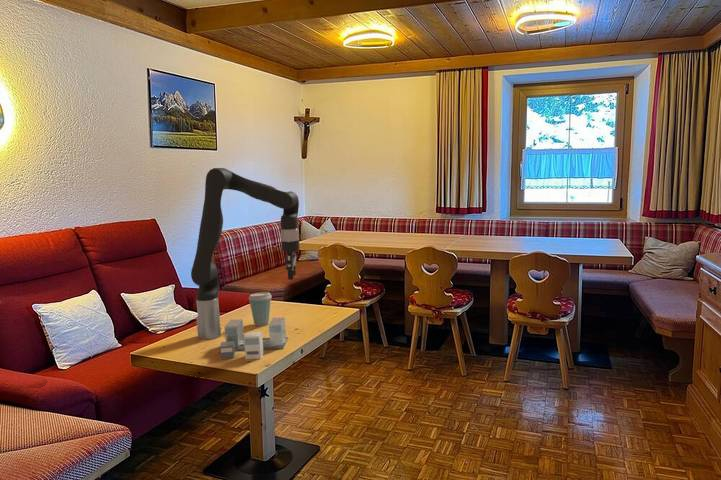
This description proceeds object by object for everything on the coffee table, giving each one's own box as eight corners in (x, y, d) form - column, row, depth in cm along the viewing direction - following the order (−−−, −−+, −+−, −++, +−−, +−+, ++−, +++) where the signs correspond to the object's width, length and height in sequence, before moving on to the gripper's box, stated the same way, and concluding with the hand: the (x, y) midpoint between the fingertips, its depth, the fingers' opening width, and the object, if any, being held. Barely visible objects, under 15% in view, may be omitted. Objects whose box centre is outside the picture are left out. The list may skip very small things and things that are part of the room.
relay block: (220, 359, 209) (219, 347, 208) (222, 354, 215) (221, 342, 214) (234, 358, 210) (232, 346, 209) (235, 353, 216) (234, 341, 215)
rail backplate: (224, 351, 219) (222, 327, 217) (232, 341, 230) (230, 319, 229) (283, 348, 218) (281, 324, 217) (287, 339, 230) (286, 316, 229)
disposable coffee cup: (246, 324, 255) (243, 294, 253) (265, 319, 263) (263, 289, 261) (258, 328, 248) (256, 297, 246) (278, 323, 255) (275, 292, 253)
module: (245, 359, 208) (243, 337, 206) (248, 354, 213) (246, 332, 212) (260, 358, 208) (259, 336, 206) (263, 354, 213) (261, 332, 212)
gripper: (283, 237, 232) (285, 274, 235) (278, 242, 218) (280, 281, 220) (300, 237, 232) (302, 273, 235) (297, 241, 218) (299, 280, 221)
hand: (292, 277), depth 228 cm, fingers open, 8 cm apart
